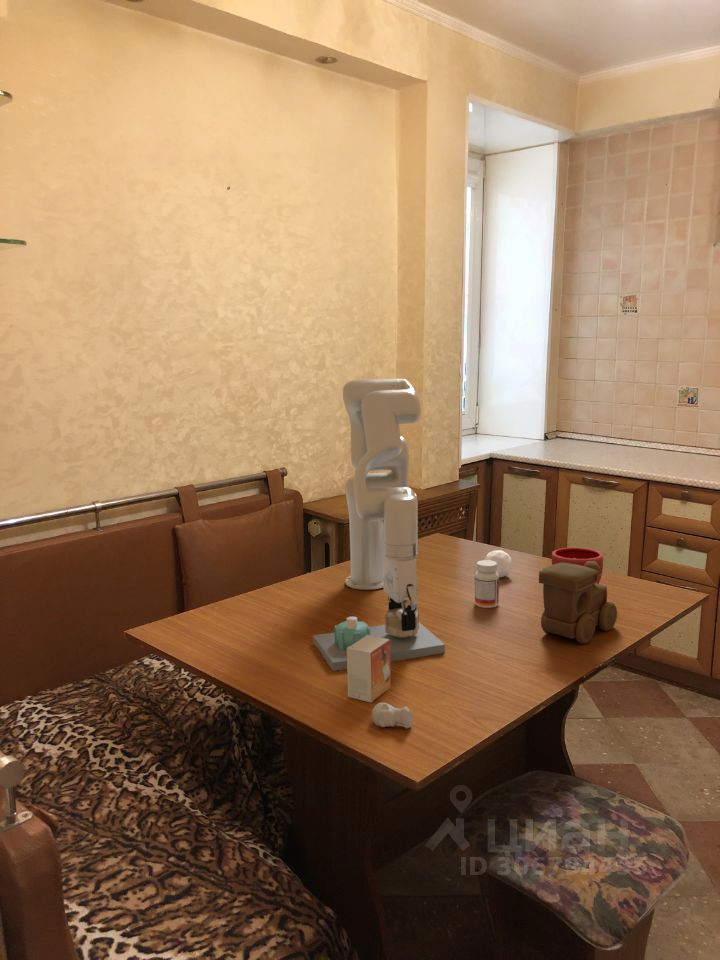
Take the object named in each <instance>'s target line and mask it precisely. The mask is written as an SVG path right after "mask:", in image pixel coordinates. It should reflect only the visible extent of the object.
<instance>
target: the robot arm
mask: <svg viewBox="0 0 720 960" xmlns="http://www.w3.org/2000/svg"><path fill="white" fill-rule="evenodd" d="M342 399H343V404H344V407H345V410H346V412H347V415H348V418H349V423H350V461H351V465H352V467H353V468H354V469H355V471H354V474H353V475H352V476H350V477H349V478H348V479H347V480H346V481H345V486H344V489H345V498H346V501H347V508H348V509H347V510H348V520H349V541H350V542H349V550H350V551H349V552H350V553H349V555H350V575H348V576H347V577H346V579H345V585H346V586H347V587H349V588H352V589H354V590H355V589H356V590H360V591H361V590H363V591H364V590H365V591H369V590H370V591H371V590H381V589H382V588H383V592H384V593H385V594H386V595H387V600H388V603H387V604H388V610H390V609H391V610H392V609H397V608H402V610H403V614H401V626H402V631H410V630H415V629H416V611H417V609H418V607H417V606H418V605H419V602H418V594H419V593H418V589H419V588H418V587H419V586H418V585H419V584H418V571H417V561H416V560H417V559H416V558H417V557H419V556H418V555H419V554H418V553H419V551H418V550H419V549H418V546H419V545H418V543H419V541H418V538H419V537H418V535H419V534H418V503H419V501H418V495H417V494H416V493H415V491H414V490H413V489H412V488H411V487H409V485H410V483H409V481H410V480H409V479H410V478H409V477H410V448H409V445H408V441H407V440H406V439H405V437H403V436H402V435H401V430H400V425H403V424H407V425H408V424H415V423H417V422H418V421H419V420H420V417H421V412H422V409H421V407H422V406H421V401H420V397H419V395H418V393H417V391H416V389H415V388H414V386H412V384H411V383H410V382H409V381H408V380H407V379H405V378H373V379H372V378H368V379H355V380H351V381H348V382H346V383H345V384H344V385H343V387H342ZM388 470H389V471H391V472H375V471H388ZM372 471H373V472H372ZM406 598H407V599H406ZM406 604H409V605H407V606H406Z"/></svg>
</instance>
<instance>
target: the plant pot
mask: <svg viewBox="0 0 720 960" xmlns="http://www.w3.org/2000/svg"><path fill="white" fill-rule="evenodd" d="M587 561H595V562H597V564H598V565H599V567H600V568H601V570H602V571H601V573H600V575H599V577H598V582H597V584H600V582H601V579H602V574H603V570H604V569H603V568H604V555H603V553H602V552H600V551H598V550H596V549H591V548H585V547H584V548H583V547H562V548H558V549H555V550H553V551H552V552H551V565H554V564H557V563H569V564H575V565H580V566H584V565H585V563H586V562H587Z"/></svg>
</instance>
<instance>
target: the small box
mask: <svg viewBox="0 0 720 960" xmlns="http://www.w3.org/2000/svg"><path fill="white" fill-rule="evenodd" d="M346 671H347V673H346V675H347V697H348V698H351V699H354V700H360V701H364V702H367V703H373V702H374V701H375V700H376V699H377V698H379V697H380V696H381V695H383V694H384V693H385V692H386V691H388V690H390V689H391V687H392V686H391V685H392V684H391V681H392V680H391V662H390V640H389V639H385V638H381V637H376V636H371V635H366V636H365V637H364V638H362V639H361V640H359V641H357V642H356V643H354V644H353V645H351V646H349V647H347V669H346Z"/></svg>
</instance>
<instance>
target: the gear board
mask: <svg viewBox="0 0 720 960" xmlns="http://www.w3.org/2000/svg"><path fill="white" fill-rule="evenodd" d="M401 614H403V610H402V609H400V610H397V617H401ZM366 635H371V636H376V637H381V638H385V639H389V640H390V663H391V662H399V661H404V660H411V659H416V658H417V659H418V658H423V657H428V656H433V655H434V656H435V655H440V654H444V653H446V647H445V646H446V645H445V643H444V642H443V641H442V640H440V639H439V638H438V637H437V636H436V635H435V634H433V632H431V631H430V630H429V629H428V628H427V627H426V626H424V625H423V624H422V623H421V622H420V621H419V629H418V632H417V634H416V635H412V636H405V637H397V636H393V635H390V634H387V633H386V632H385V624H382V625H374V626H369V625H368V624H367V623H366V622H365V621H360V620H359V621H358V617H357V616H348V617H346V621H343V622H340V623H339V624H335V626H334V632H329V633H322V634H316V635H314V634H313V635H312V640H313V641H312V642H314V644H315V645H316V647H317V648H318V650H319V651H320V652H321V654H322V655H323V656H322V655H321V654H320V655H321V656H322V658H323V657H324V658H325V659H324V658H323V659H324V660H326V661H327V662H326V661H325V662H326V663H327V665H328V664H329V665H330V666H329V665H328V666H329V667H331V670H332V672H338V671H337V670H339V671H343V669H345V670H347V647H349V646H351V645H353V644H354V643H356V642H357V641H359V640H361V639H362V638H364V637H365V636H366ZM314 644H313V645H314ZM315 645H314V646H315ZM316 647H315V648H316ZM317 648H316V649H317ZM318 650H317V651H318ZM319 651H318V652H319ZM320 652H319V653H320Z"/></svg>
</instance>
